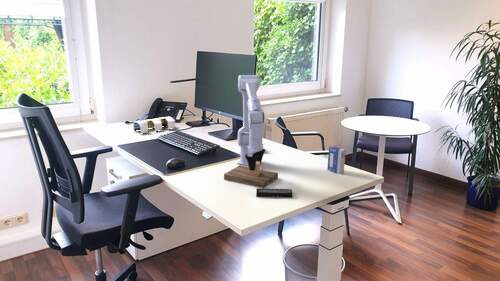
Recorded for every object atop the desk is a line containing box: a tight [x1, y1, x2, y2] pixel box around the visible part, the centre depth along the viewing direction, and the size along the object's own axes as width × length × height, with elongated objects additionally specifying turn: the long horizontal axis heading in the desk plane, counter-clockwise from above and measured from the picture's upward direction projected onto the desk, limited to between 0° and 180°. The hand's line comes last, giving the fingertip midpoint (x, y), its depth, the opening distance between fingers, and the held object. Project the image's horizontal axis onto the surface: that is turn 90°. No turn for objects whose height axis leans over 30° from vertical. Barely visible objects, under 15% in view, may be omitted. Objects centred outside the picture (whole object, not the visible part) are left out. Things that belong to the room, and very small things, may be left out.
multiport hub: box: [255, 187, 294, 199], centre depth 156 cm, size 4×14×2 cm, turn 89°
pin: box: [249, 161, 261, 177], centre depth 172 cm, size 4×4×8 cm
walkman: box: [326, 145, 346, 175], centre depth 182 cm, size 8×3×12 cm, turn 37°
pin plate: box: [223, 164, 279, 189], centre depth 173 cm, size 14×20×2 cm
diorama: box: [132, 115, 176, 135], centre depth 254 cm, size 25×10×13 cm, turn 132°
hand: (255, 167), depth 171 cm, fingers open, 7 cm apart
